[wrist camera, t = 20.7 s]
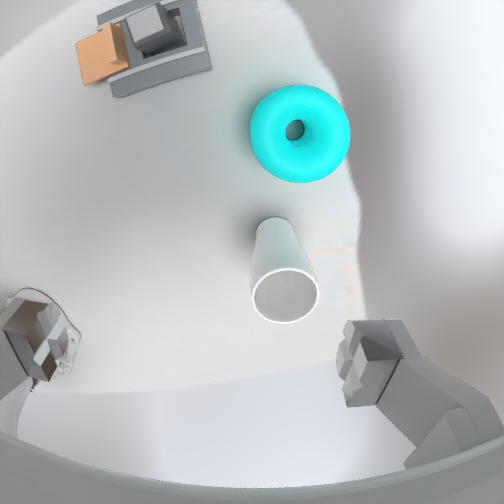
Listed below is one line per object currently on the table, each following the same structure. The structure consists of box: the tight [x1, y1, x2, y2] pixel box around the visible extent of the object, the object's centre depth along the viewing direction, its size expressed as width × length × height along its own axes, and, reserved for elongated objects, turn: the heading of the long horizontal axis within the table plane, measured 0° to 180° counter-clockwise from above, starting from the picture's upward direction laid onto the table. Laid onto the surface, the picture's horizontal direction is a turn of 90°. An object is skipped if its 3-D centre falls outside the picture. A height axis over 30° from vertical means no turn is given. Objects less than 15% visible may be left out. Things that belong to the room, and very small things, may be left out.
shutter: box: [76, 22, 130, 86], centre depth 27 cm, size 6×6×4 cm
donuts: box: [250, 85, 350, 183], centre depth 32 cm, size 10×10×10 cm
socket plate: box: [97, 0, 212, 97], centre depth 29 cm, size 12×12×4 cm
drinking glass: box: [250, 217, 320, 324], centre depth 36 cm, size 7×7×15 cm
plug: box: [124, 2, 186, 56], centre depth 27 cm, size 4×4×9 cm
